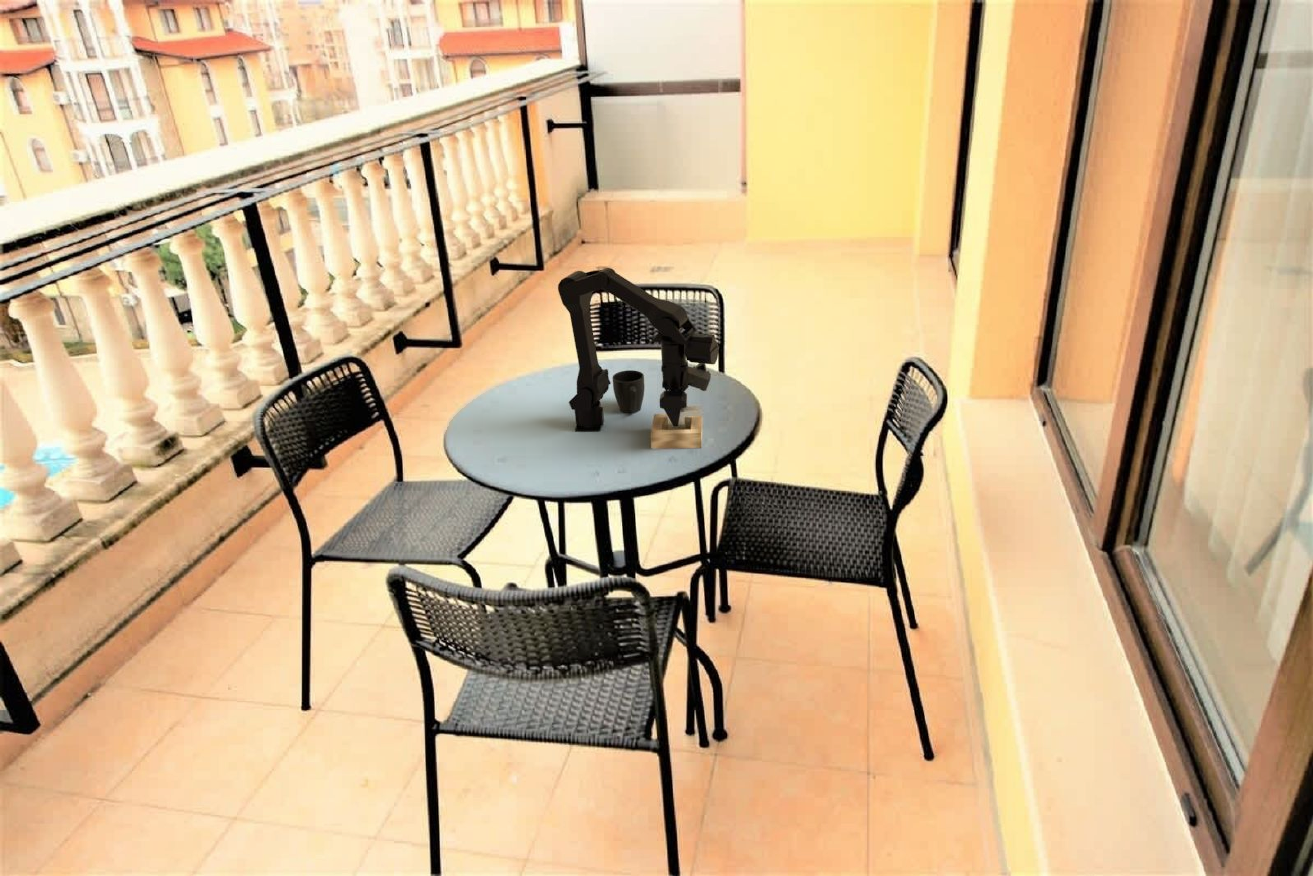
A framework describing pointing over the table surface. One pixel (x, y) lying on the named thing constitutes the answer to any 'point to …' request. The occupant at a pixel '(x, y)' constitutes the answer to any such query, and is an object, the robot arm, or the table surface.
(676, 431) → the well block
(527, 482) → the table surface
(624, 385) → the mug
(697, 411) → the bracket
